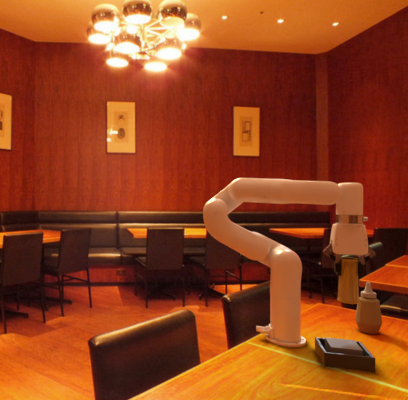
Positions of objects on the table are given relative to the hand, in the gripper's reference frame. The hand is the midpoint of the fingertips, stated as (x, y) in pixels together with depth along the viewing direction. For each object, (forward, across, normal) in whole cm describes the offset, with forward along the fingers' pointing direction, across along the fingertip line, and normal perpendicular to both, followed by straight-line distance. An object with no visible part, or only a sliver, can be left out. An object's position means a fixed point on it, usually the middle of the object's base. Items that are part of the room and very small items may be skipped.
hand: (348, 274), depth 124 cm
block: (+23, +5, +14) cm, 27 cm away
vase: (+9, 0, 0) cm, 9 cm away
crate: (+24, +5, +14) cm, 28 cm away
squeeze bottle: (+24, -12, -17) cm, 31 cm away
